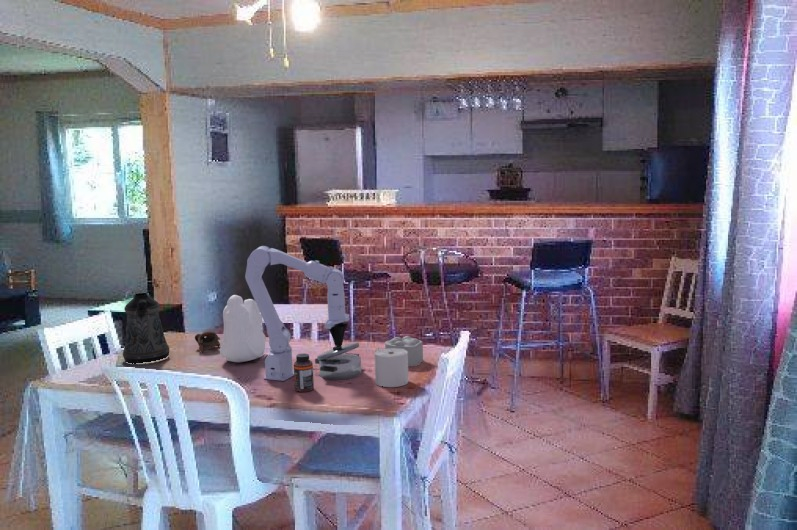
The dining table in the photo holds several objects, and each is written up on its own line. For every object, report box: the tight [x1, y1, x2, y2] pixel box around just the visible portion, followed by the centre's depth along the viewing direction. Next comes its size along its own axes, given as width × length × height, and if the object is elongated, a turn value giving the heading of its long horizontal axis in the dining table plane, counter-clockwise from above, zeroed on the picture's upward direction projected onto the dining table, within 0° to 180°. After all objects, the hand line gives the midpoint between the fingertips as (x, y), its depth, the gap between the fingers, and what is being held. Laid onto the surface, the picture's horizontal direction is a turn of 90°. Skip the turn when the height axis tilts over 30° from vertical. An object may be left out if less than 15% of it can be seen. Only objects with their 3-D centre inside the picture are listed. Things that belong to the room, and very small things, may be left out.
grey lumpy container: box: [384, 335, 424, 367], centre depth 253 cm, size 10×13×9 cm
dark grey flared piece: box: [122, 292, 170, 364], centre depth 266 cm, size 16×19×25 cm
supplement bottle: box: [293, 353, 315, 393], centre depth 225 cm, size 6×6×11 cm
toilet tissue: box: [374, 347, 410, 388], centre depth 230 cm, size 11×12×10 cm
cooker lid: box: [316, 342, 360, 360], centre depth 241 cm, size 15×15×2 cm
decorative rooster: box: [219, 294, 267, 363], centre depth 264 cm, size 25×16×25 cm, turn 155°
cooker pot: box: [314, 352, 362, 381], centre depth 242 cm, size 19×16×5 cm
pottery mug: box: [194, 331, 221, 353], centre depth 279 cm, size 12×10×8 cm
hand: (338, 345), depth 240 cm, fingers closed, pressing on cooker lid
